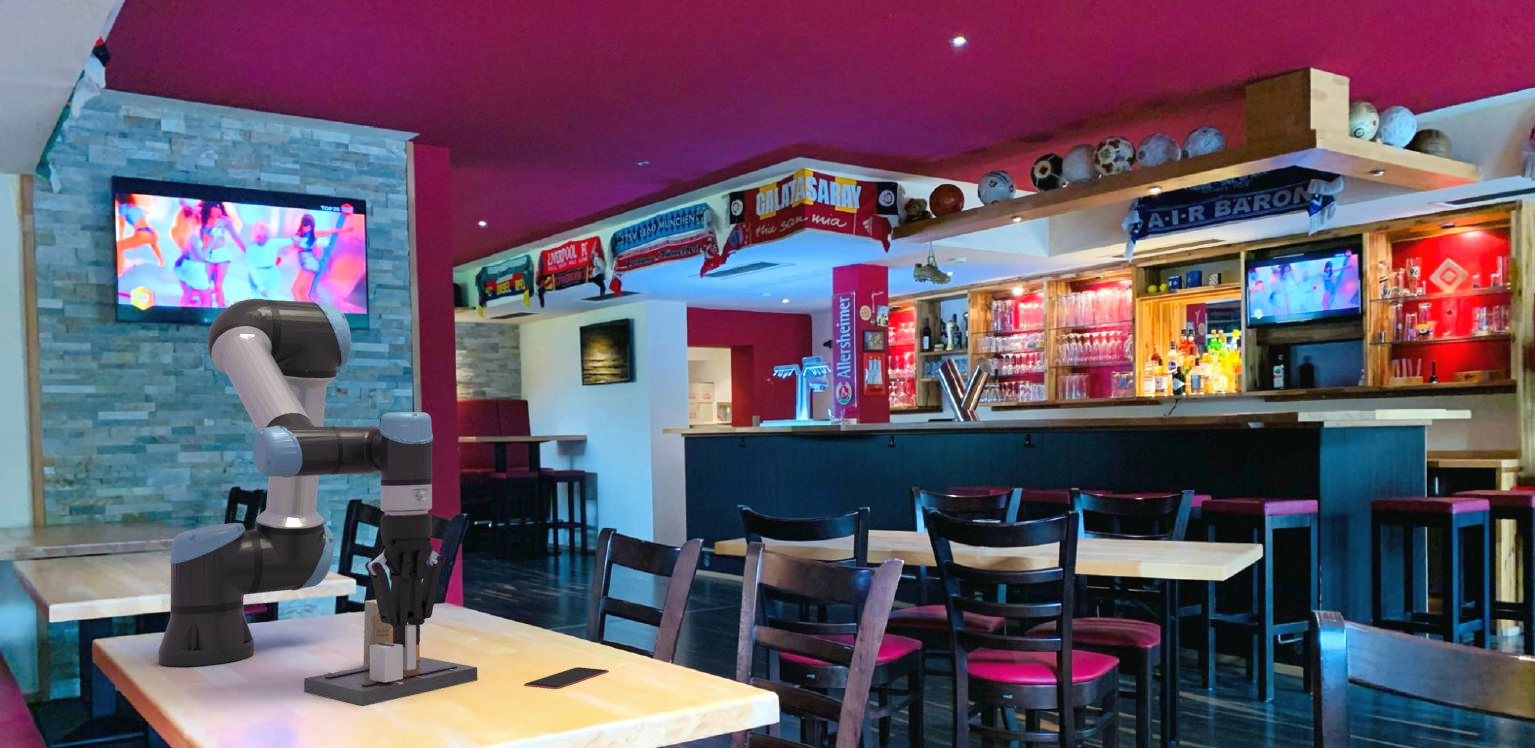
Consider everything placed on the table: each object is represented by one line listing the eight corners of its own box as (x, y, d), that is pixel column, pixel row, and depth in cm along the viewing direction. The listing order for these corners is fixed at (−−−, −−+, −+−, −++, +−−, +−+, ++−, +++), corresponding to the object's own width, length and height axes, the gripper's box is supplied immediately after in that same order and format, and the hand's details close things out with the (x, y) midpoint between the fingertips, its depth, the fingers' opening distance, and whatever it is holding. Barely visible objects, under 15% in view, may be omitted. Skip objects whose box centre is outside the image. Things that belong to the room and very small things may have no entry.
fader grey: (369, 679, 165) (369, 644, 165) (387, 675, 167) (387, 640, 168) (385, 682, 162) (385, 646, 163) (402, 678, 165) (402, 643, 165)
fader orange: (388, 660, 179) (388, 628, 179) (405, 657, 181) (405, 625, 181) (403, 663, 176) (403, 630, 176) (419, 660, 179) (419, 627, 179)
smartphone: (611, 669, 179) (557, 688, 167) (611, 673, 179) (557, 691, 167) (576, 666, 182) (521, 684, 170) (576, 670, 182) (521, 687, 170)
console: (302, 691, 168) (302, 676, 169) (416, 668, 184) (416, 654, 184) (364, 705, 158) (364, 690, 158) (478, 680, 174) (478, 666, 174)
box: (372, 669, 183) (372, 602, 184) (362, 666, 187) (362, 600, 187) (403, 665, 187) (403, 599, 187) (392, 661, 190) (393, 596, 191)
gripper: (382, 516, 162) (382, 679, 160) (457, 510, 172) (457, 663, 170) (354, 514, 166) (353, 673, 165) (428, 509, 176) (428, 658, 175)
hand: (406, 668), depth 168 cm, fingers closed
